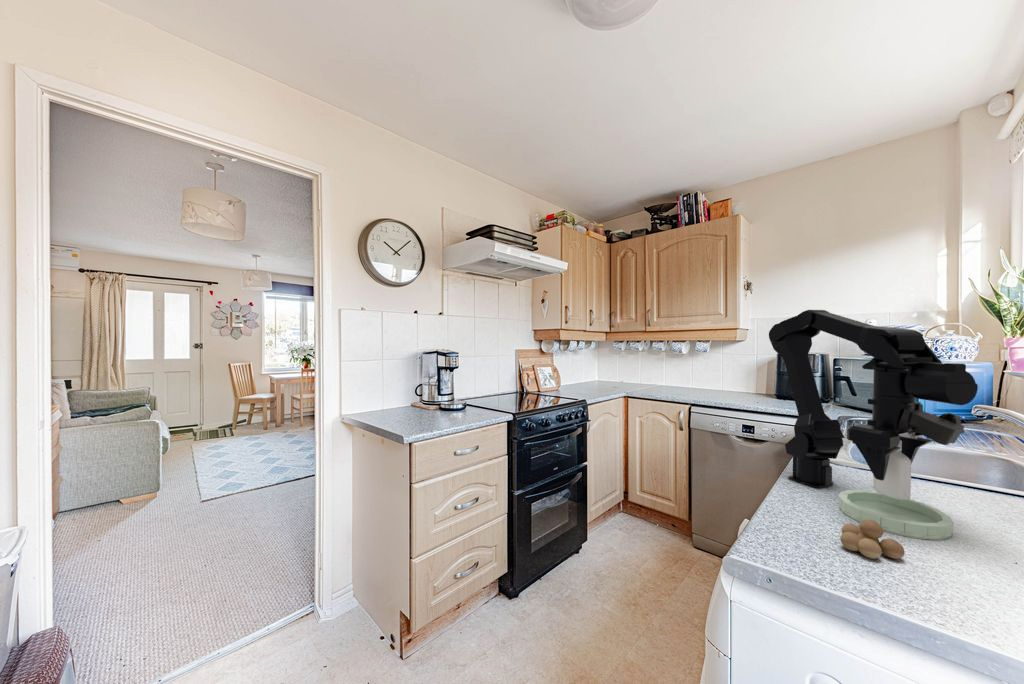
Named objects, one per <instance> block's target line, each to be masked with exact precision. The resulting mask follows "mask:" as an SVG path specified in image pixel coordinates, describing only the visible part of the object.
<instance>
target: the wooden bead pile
mask: <svg viewBox="0 0 1024 684" xmlns="http://www.w3.org/2000/svg"><path fill="white" fill-rule="evenodd" d="M841 533H842V534H841V535H840V538H839V539H840V542H841V544H842V546H843V547H844V548H846V549H847V550H849V551H853V552H860V554H861V555H863V556H864V557H866V558H868V559H872V560H873V559H875V560H876V559H878V558H880V557H881V556H882V554H883V555H884V556H886V557H888V558H890V559H893V560H899V559H902V558H903V557H904V556H905V548H904V546H903V545H902V544H901V543H900V542H898V541H897V540H895V539H892V538H884V539H883V538H882V537H884V531H883V529H882V527H881V526H880V525H879V524H878V523H877V522H875V521H873V520H864V521H862V522H859V526H858V525H857V524H854V523H846V524H845V523H844V525H843V526H842V527H841ZM880 538H882V539H881V540H879V539H880Z"/></svg>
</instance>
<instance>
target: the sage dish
mask: <svg viewBox="0 0 1024 684" xmlns="http://www.w3.org/2000/svg"><path fill="white" fill-rule="evenodd" d="M838 505H839V510H840V511H841V512H842V513H843V514H844V515H846V516H847V517H849V518H851V519H852V520H855V521H856V522H859V523H861V522H862V521H864V520H873V521H875V522H877V523H878V524H879V525H880V526H881V527H882V529H883V532H886V533H889V532H890V533H889V534H893V535H897V536H902V537H906V538H912V539H917V538H918V539H919V540H925V539H929V541H944V540H943V539H945V540H948V539H950V538H951V537H952V536H953V533H954V521H953V519H952V517H951V516H950V515H949V514H947V513H945V512H943V511H942V510H940V509H938V508H935V507H933V506H930V505H928V504H926V503H924V502H921V501H917V500H913V499H911V498H910V500H898V499H894V498H891V497H888V496H886V495H883V494H881V493H879V492H877V491H872V490H863V489H849V490H848V489H846V490H844V491H841V492H839V496H838Z"/></svg>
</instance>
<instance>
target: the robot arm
mask: <svg viewBox="0 0 1024 684" xmlns="http://www.w3.org/2000/svg"><path fill="white" fill-rule="evenodd" d="M820 332H824V333H826V334H829V335H832V336H835V337H837V338H841V339H842V340H846V341H849V342H850V343H851V342H852V343H854V344H855V345H857V346H858V348H859V350H860V351H862V352H864V353H866V354H867V355H869V356H870V357H872V358H871V360H869V361H868V362H866V363H864V364H863V365H862V366H861V368H862V369H863V370H873V377H872V378H873V379H872V380H873V381H872V382H873V384H872V387H873V388H872V398H871V397H870V398H867V404H868V405H872V417H871V418H870V419H867V421H866V423H867V424H864V423H861V424H855V425H852V426H850V427H848V428H846V429H847V430H846V437H845V435H844V434H843V432H842V429H841V422H840V421H839V420H838V419H831V418H830V417H829V416H828V415H827V414H826V413H825V410H824V407H823V403H822V400H821V396H820V393H819V390H818V386H817V383H816V380H815V375H814V372H813V370H812V366H811V362H810V358H809V353H810V351H811V349H812V346H813V341H812V339H813V338H814V337H816V336H818V335H819V334H820ZM768 339H769V342H770V344H771V346H772V349H773V350H774V351H775V352H776V353H777V354H778V355H779V356H780V357H781V358H782V359H783V362H784V365H785V370H786V373H787V378H788V381H789V384H790V388H791V391H792V396H793V400H794V403H795V407H796V410H797V413H798V416H797V419H796V421H795V424H794V427H793V431H794V436H793V437H792V438H791V439H790V440H788V441H787V442H786V443H784V444H785V445H784V446H785V451H786V452H785V453H786V454H788V455H790V456H792V475H788V479H789V480H792V481H795V482H797V483H799V484H804V485H806V486H810V487H813V488H815V489H820V488H824V487H828V486H829V487H830V486H832V485H834V481H833V467H832V465H831V459H833V460H835V459H837V458H838V455H839V452H840V451H841V449H842V447H844V439H845V438H846V439H847V440H848V441H851V442H852V445H855V446H856V448H857V449H858V450H859V453H860V454H861V456H862V457H863V459H864V460H865V462H866V464H867V466H868V467H869V469H870V471H871V473H872V474H873V475H874V477H875V478H876V479H878V480H884V478H885V475H886V471H887V466H888V461H889V457H890V454H891V453H893V452H895V451H897V450H899V449H900V447H897V446H898V444H899V442H900V440H901V441H902V450H901V451H900V452H901V453H903V454H904V455H906V456H907V457H908V458H909V459H910V461H911V465H912V463H913V462H914V459H915V457H916V455H917V453H918V451H919V450H920V448H921V447H923V446H926V445H927V444H929V443H930V444H931V443H932V442H935V443H937V444H940V445H942V446H948V445H949V444H955V443H956V441H957V440H958V438H959V436H960V435H962V434H964V433H965V430H964V429H965V425H963V424H962V421H961V416H959V415H958V414H957V415H956V414H954V413H952V412H946V413H943V414H941V415H937V414H936V413H929V412H926V411H924V405H923V403H921V401H917V399H918V400H925V401H931V402H937V403H942V404H949V405H956V406H964V405H965V406H966V405H968V404H970V403H971V402H972V401H973V400H974V399H975V398H976V396H977V393H978V389H979V387H978V383H976V380H975V378H974V376H973V375H972V374H971V373H969V372H968V371H967V370H966V369H967V365H966V364H965V363H957V362H956V363H955V362H954V363H953V362H952V363H951V362H949V363H948V362H947V363H943V362H942V360H941V359H939V357H938V355H936V353H935V352H934V351H933V350H932V348H930V346H929V345H928V344H927V343H926V340H925V338H924V334H923V333H921V332H920V331H918V330H915V329H908V328H902V327H901V328H899V327H892V326H891V327H889V326H877V325H871V324H869V323H865V322H861V321H858V320H855V319H852V318H848V317H845V316H842V315H839V314H836V313H833V312H830V311H828V310H825V309H806V310H804V311H801V312H800V313H799V314H797V315H795V316H792V317H790V318H787V319H784V320H782V321H780V322H778V323H775V324H773V325H772V327H771V328H770V330H769V331H768ZM924 437H926V438H924ZM873 475H872V476H873Z"/></svg>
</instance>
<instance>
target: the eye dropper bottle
mask: <svg viewBox="0 0 1024 684" xmlns="http://www.w3.org/2000/svg"><path fill="white" fill-rule="evenodd" d="M897 447H900V449H899V450H897V451H895V452H893V453H891V454H890V457H889V461H888V466H887V471H886V475H885V478H884V480H878V479H876V478H875V477H874V475H872V476H873V481H872V487H873V488H872V489H874V490H875V492H879V493H881V494H883V495H886V496H888V497H891V498H894V499H898V500H910V499H911V496H912V495H911V492H912V491H911V489H912V464H911V461H910V459H909V458H908V457H907V456H906V455H904V454H903V453H901V452H900V451H901V450H902V441H901V440H900V442H899V444H898V446H897Z"/></svg>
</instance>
